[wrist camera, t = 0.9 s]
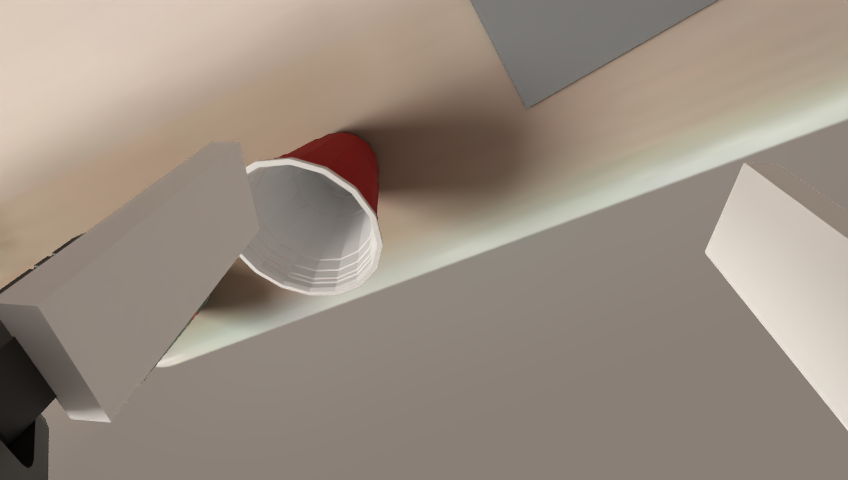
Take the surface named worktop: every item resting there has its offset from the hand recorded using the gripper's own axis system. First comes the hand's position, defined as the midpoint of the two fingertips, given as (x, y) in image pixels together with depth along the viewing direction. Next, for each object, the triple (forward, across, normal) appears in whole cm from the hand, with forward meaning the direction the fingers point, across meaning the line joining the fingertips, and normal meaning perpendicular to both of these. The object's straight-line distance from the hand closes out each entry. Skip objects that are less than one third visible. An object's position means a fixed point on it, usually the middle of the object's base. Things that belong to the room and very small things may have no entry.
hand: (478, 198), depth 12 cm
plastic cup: (+24, -10, -10) cm, 28 cm away
